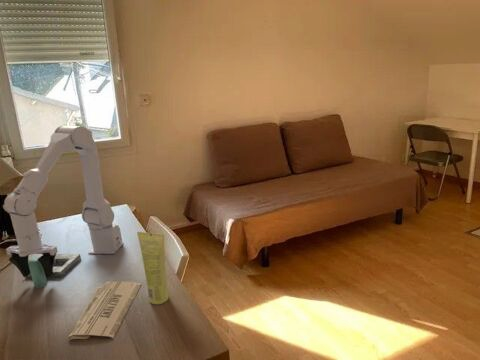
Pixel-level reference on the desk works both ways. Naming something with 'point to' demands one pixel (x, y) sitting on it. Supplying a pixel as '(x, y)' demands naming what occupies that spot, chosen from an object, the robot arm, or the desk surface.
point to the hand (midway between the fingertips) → (38, 275)
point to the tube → (154, 266)
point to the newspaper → (105, 310)
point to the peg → (37, 273)
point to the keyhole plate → (68, 262)
